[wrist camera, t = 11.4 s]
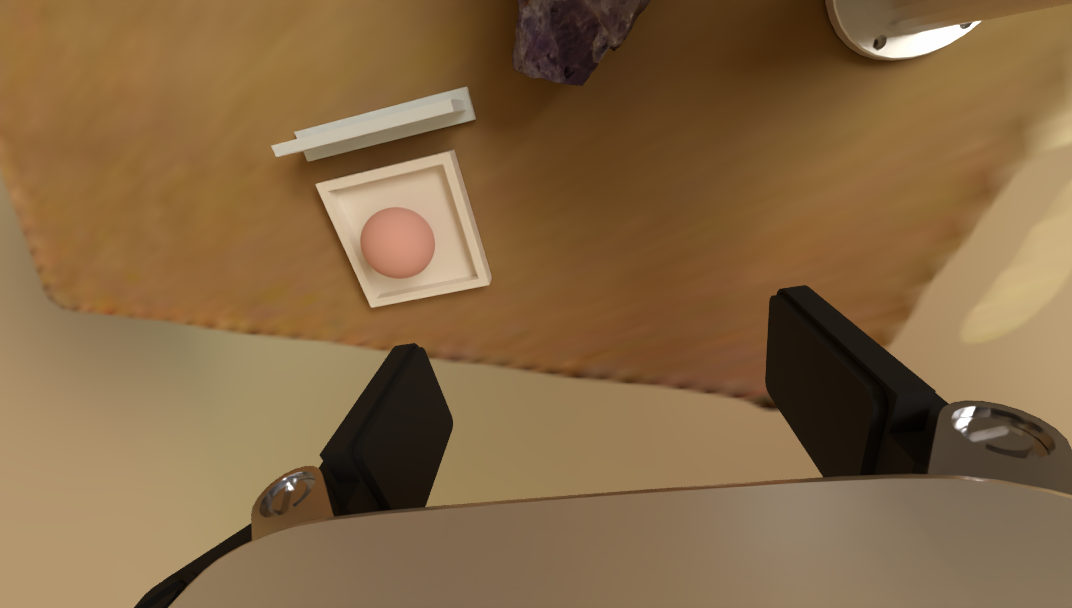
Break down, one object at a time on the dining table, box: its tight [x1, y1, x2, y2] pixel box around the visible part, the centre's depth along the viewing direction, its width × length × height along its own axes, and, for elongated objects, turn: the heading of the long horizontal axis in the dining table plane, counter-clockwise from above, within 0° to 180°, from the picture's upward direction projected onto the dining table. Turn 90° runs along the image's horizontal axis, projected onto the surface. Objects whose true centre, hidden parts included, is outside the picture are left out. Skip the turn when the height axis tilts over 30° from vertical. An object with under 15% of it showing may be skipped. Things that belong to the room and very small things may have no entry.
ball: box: [360, 207, 435, 279], centre depth 34 cm, size 6×6×6 cm
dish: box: [315, 149, 492, 308], centre depth 37 cm, size 12×12×2 cm
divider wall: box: [271, 87, 476, 162], centre depth 31 cm, size 15×2×5 cm, turn 103°
